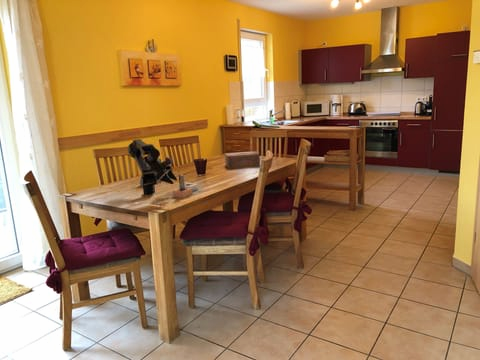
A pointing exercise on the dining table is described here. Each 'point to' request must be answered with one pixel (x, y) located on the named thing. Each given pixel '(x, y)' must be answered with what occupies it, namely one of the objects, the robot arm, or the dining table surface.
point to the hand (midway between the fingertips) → (175, 181)
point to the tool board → (187, 196)
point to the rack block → (182, 192)
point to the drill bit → (181, 182)
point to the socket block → (191, 186)
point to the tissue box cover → (242, 159)
